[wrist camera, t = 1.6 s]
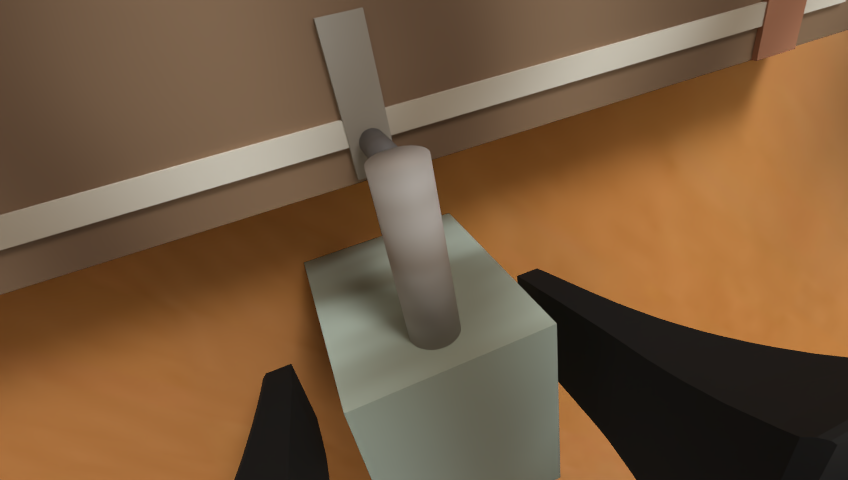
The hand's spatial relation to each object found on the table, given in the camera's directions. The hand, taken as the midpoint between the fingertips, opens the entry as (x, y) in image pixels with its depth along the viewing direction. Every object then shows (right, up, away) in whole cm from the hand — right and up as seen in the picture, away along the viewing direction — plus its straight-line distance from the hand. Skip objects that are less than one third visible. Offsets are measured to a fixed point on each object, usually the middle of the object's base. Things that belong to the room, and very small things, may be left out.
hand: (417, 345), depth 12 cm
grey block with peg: (-1, +2, 0) cm, 2 cm away
